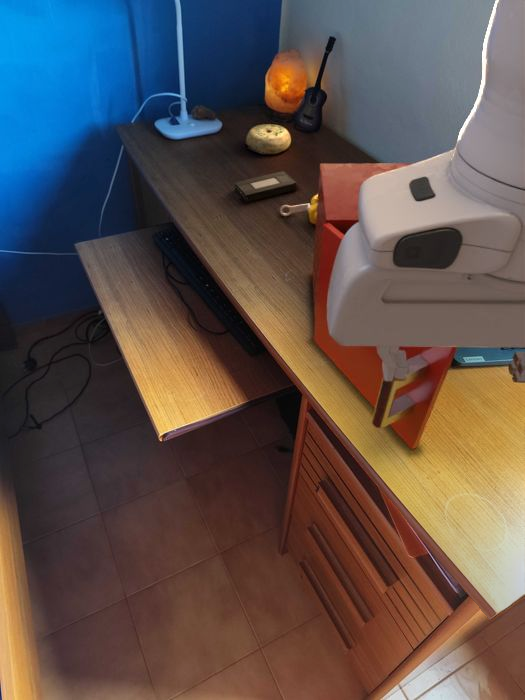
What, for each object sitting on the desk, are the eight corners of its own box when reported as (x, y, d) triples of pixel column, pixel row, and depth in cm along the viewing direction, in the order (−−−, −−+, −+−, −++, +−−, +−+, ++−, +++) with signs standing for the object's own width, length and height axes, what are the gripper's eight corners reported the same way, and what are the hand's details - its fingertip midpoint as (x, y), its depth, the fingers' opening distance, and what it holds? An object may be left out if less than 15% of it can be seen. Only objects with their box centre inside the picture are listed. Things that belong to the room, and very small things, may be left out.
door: (379, 468, 66) (415, 354, 49) (285, 352, 82) (287, 236, 65) (417, 447, 68) (464, 331, 51) (318, 338, 84) (329, 222, 67)
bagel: (294, 154, 137) (294, 137, 134) (249, 158, 136) (248, 140, 132) (286, 136, 146) (286, 119, 143) (244, 139, 145) (243, 122, 142)
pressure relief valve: (329, 207, 115) (332, 229, 108) (281, 214, 117) (282, 237, 110) (327, 186, 111) (330, 208, 104) (278, 194, 113) (278, 217, 106)
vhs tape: (235, 189, 123) (234, 182, 122) (283, 178, 127) (283, 170, 126) (246, 202, 118) (246, 195, 117) (296, 189, 122) (296, 182, 121)
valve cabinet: (461, 338, 83) (509, 219, 66) (315, 337, 84) (325, 219, 67) (438, 277, 96) (474, 162, 78) (312, 276, 97) (320, 163, 79)
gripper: (694, 178, 27) (580, 346, 37) (334, 181, 27) (320, 344, 38) (773, 241, 22) (620, 411, 32) (343, 241, 23) (324, 407, 33)
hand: (456, 375), depth 35 cm, fingers open, 8 cm apart
